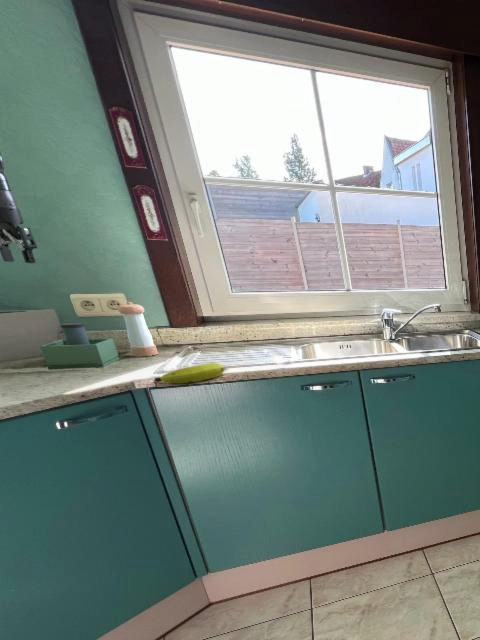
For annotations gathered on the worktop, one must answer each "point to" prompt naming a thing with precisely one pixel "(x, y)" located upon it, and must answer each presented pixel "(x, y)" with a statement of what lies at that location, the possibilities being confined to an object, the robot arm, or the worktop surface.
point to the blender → (75, 333)
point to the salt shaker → (137, 330)
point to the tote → (80, 354)
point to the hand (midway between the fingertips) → (20, 262)
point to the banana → (193, 373)
